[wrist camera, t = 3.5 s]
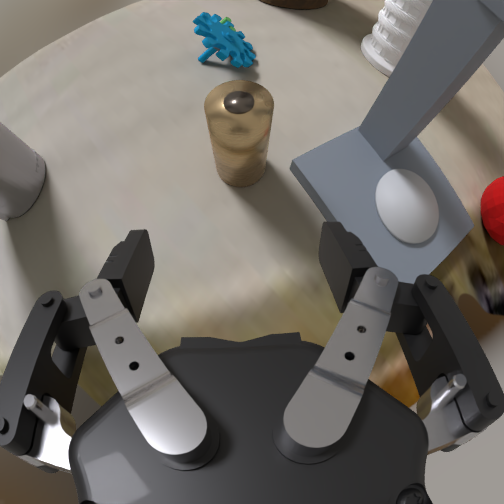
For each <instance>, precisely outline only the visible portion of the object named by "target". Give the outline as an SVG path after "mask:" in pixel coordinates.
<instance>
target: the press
mask: <svg viewBox="0 0 504 504" xmlns="http://www.w3.org/2000/svg"><path fill="white" fill-rule="evenodd" d="M503 38H504V0H433V1H432V3H431V5H430V7H429V9H428V10H427V12H426V14H425V16H424V18H423V19H422V21H421V23H420V25H419V27H418V28H417V30H416V32H415V34H414V36H413V37H412V39H411V41H410V43H409V44H408V46H407V48H406V50H405V51H404V53H403V55H402V57H401V58H400V60H399V62H398V63H397V65H396V67H395V69H394V70H393V72H392V74H391V75H390V77H389V79H388V81H387V82H386V84H385V86H384V87H383V89H382V91H381V92H380V94H379V96H378V97H377V99H376V101H375V102H374V104H373V106H372V107H371V109H370V111H369V112H368V114H367V116H366V117H365V119H364V121H363V122H362V124H361V126H359V127H357V128H355V129H353V130H351V131H349V132H347V133H344V134H342V135H340V136H338V137H336V138H334V139H332V140H330V141H328V142H326V143H324V144H322V145H320V146H318V147H316V148H314V149H313V150H311V151H309V152H307V153H305V154H303V155H301V156H299V157H297V158H295V159H293V160H292V163H291V166H290V170H291V172H292V173H293V174H294V176H295V177H296V178H297V180H298V181H299V182H300V184H301V185H302V186H303V188H304V189H305V190H306V192H307V193H308V195H309V196H310V197H311V199H312V200H313V202H314V203H315V204H316V206H317V207H318V209H319V210H320V211H321V213H322V214H323V216H324V217H325V219H326V220H327V222H341V223H342V225H343V226H344V228H345V229H346V231H347V232H352V233H353V234H355V235H356V236H357V237H359V239H360V240H361V242H362V243H363V245H364V246H365V247H366V249H367V251H368V252H369V253H370V255H371V256H372V258H373V260H374V261H375V263H376V264H377V266H378V267H382V268H385V269H388V270H390V271H391V272H393V273H394V274H395V275H396V276H397V278H398V281H399V282H405V283H411V284H414V282H415V280H416V278H417V276H419V275H421V274H428V275H429V274H430V273H431V272H432V271H433V270H434V269H435V268H436V267H437V266H438V265H439V264H440V263H441V262H442V261H443V260H444V259H445V258H446V257H447V256H448V255H449V253H450V252H451V251H452V250H453V249H454V248H455V247H456V246H457V245H458V244H459V243H460V242H461V240H462V239H463V238H464V237H465V236H466V235H467V234H468V232H469V231H470V230H471V229H472V228H473V227H474V224H473V222H472V220H471V218H470V216H469V215H468V213H467V211H466V209H465V208H464V206H463V204H462V202H461V201H460V199H459V197H458V196H457V194H456V192H455V191H454V189H453V188H452V186H451V184H450V183H449V181H448V180H447V178H446V177H445V175H444V174H443V172H442V171H441V169H440V168H439V166H438V165H437V163H436V162H435V161H434V159H433V158H432V156H431V155H430V154H429V152H428V151H427V150H426V148H425V147H424V146H423V144H422V143H421V142H420V140H419V139H418V138H417V136H418V135H419V133H420V132H421V131H422V130H423V129H424V128H425V127H426V126H427V125H428V124H429V123H430V122H431V121H432V120H433V118H434V117H435V116H436V115H437V114H438V113H439V112H440V111H441V110H442V109H443V108H444V106H445V105H446V104H447V103H448V102H449V101H450V100H451V99H452V98H453V96H454V95H455V94H456V93H457V92H458V91H459V90H460V89H461V87H462V86H463V85H464V84H465V83H466V82H467V81H468V79H469V78H470V77H471V76H472V75H473V74H474V73H475V71H476V70H477V69H478V68H479V67H480V66H481V64H482V63H483V62H484V61H485V59H486V58H487V57H488V56H489V55H490V54H491V52H492V51H493V50H494V49H495V48H496V46H497V45H498V44H499V43H500V42H501V40H502V39H503Z"/></svg>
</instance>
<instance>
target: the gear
mask: <svg viewBox="0 0 504 504" xmlns="http://www.w3.org/2000/svg"><path fill="white" fill-rule="evenodd" d="M221 19H222V18H221V17H220V16H218V15H216V14H214V15H213V16H212V17H211V16H210V14H209V13H205V12H203V13H202V14H201V15H200V16H198V17H197V18H196V19H195V20H193V23H195V24H196V25H198V26H197V27H195V29H194V32H195V33H196V34H197V35H201V36H204V37H206V38H205V39H204V40H203V41H202V43H203V45H204V46H205V47H206V48H209V49H207V50H206V51H205V52H204V53H203V54H202V55H201V56H200V57H199V58H198V60H199V61H200V62H202V63H203V62H205V61H206V60H207V59H208V58H209V57H210V56H211V55H212V54H214V53H215V52H216V51H217V50H218V52H217V53H216V56H217V57H218V58H219V59H221V60H222V61H224V60H225V59H226V58H228V57H229V55H231V56H232V57H233V59H232V60H231V64H232V65H233V66H235V67H237V68H239V67H240V66H241V65H243V66H244V67H249V66H251V65H252V64H253V62H252V60H253V59H255V57H256V56H255V55H254V54H253V53H252V52H250V51H251V50H252V49H253V47H252V45H251V44H250V43H248V42H245V41H244V40H242V39H244V38H245V36H244V34H243V33H242V32H241V31H239V32H236V30H235V28H233V27H234V25H233V24H232V23H231V19H230V18H228V17H225V18H224V19H223V20H222V21H221V22H219V21H220V20H221Z"/></svg>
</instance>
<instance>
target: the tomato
mask: <svg viewBox="0 0 504 504" xmlns="http://www.w3.org/2000/svg"><path fill="white" fill-rule="evenodd" d="M481 216H482V220H483V224H484V227H485V228H486V230H487V231H488V233H489V235H490V237H491V238H493V239H494V240H495V241H496V242H497V243H499V244H501V245H504V176H503V177H500V178H497V179H496V180H494V181H493V182H492V183H491V184H490V185H489V186H488V187H487V188H486V189H485V191H484V192H483V195H482V198H481Z"/></svg>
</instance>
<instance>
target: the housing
mask: <svg viewBox="0 0 504 504" xmlns="http://www.w3.org/2000/svg"><path fill="white" fill-rule="evenodd" d="M204 109H205V114H206V119H207V124H208V129H209V134H210V139H211V144H212V149H213V154H214V158H215V163H216V168H217V172H218V175H219V176H220V178H221V179H222V180H223V181H224V182H225V183H227V184H229V185H231V186H235V187H246V186H250V185H252V184H254V183H256V182H257V181H258V180H260V178H261V177H262V176H263V174H264V171H265V166H266V159H267V152H268V144H269V137H270V130H271V123H272V116H273V109H274V101H273V98H272V96H271V94H270V93H269V91H268V90H267V89H265V88H264V87H263V86H261V85H259V84H257V83H254V82H251V81H245V80H235V81H229V82H226V83H223V84H221V85H219V86H217V87H215V88H214V89H213V90H212V91H211V92H210V93H209V94H208V96H207V97H206V100H205V103H204Z"/></svg>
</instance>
